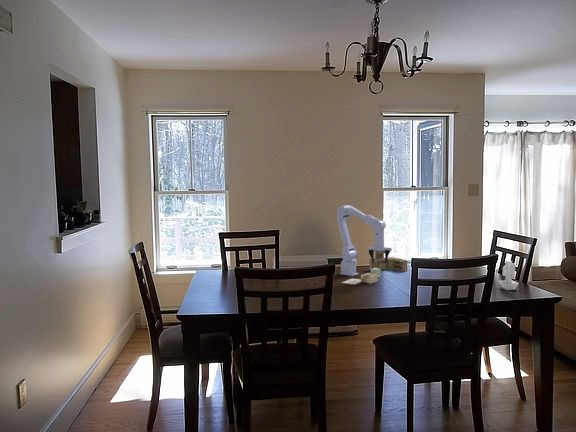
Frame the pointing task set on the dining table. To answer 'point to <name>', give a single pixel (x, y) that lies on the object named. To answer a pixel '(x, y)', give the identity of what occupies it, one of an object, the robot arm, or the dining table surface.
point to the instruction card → (352, 281)
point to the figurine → (508, 276)
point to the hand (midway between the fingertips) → (379, 262)
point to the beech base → (369, 278)
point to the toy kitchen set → (388, 262)
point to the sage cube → (376, 271)
